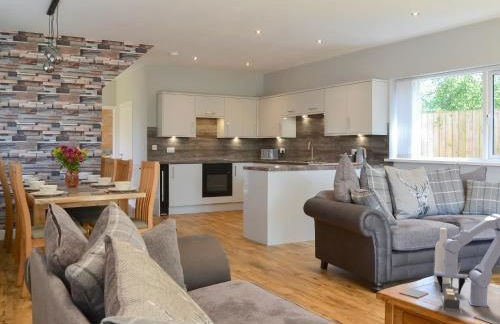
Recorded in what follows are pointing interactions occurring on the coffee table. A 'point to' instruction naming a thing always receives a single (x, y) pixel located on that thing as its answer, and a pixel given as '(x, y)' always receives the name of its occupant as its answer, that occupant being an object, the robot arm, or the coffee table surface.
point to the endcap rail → (451, 304)
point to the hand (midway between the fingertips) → (450, 292)
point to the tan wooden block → (450, 294)
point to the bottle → (440, 255)
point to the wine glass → (452, 278)
